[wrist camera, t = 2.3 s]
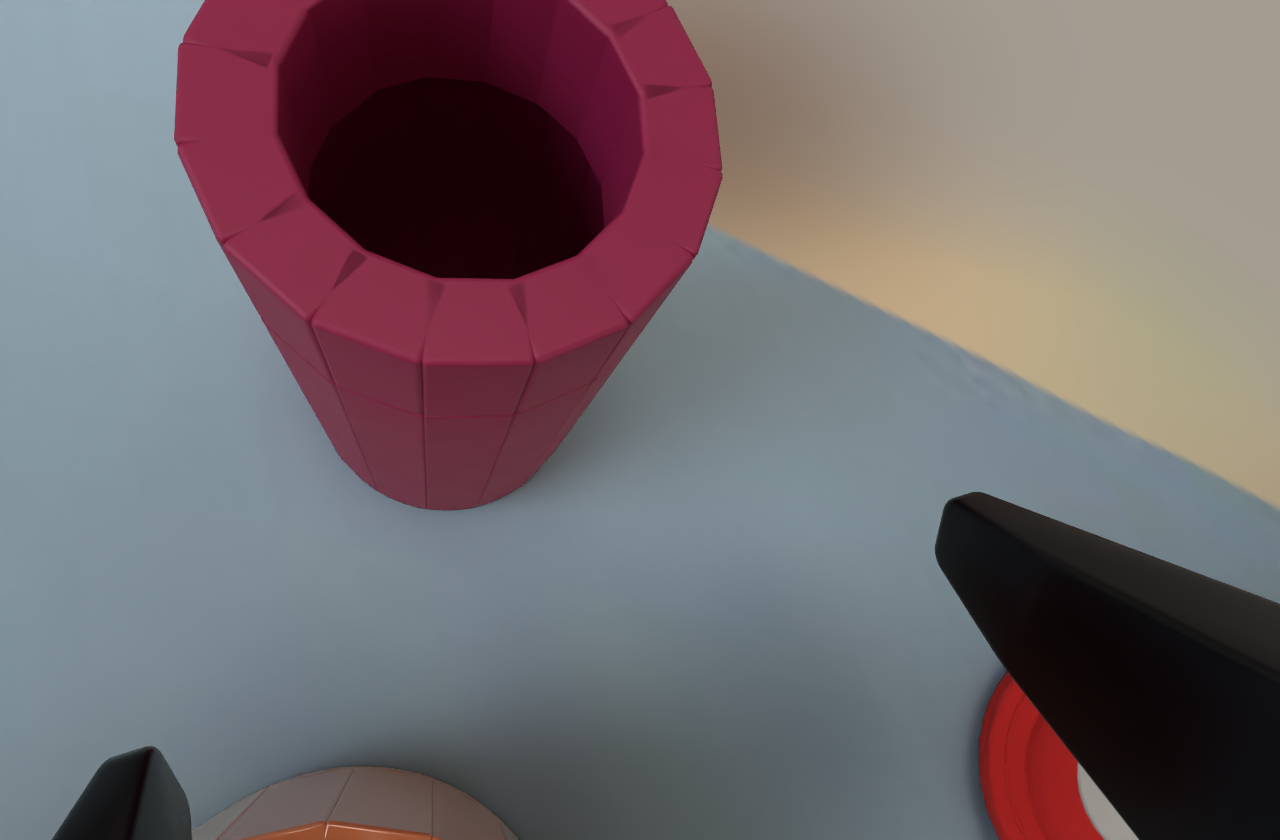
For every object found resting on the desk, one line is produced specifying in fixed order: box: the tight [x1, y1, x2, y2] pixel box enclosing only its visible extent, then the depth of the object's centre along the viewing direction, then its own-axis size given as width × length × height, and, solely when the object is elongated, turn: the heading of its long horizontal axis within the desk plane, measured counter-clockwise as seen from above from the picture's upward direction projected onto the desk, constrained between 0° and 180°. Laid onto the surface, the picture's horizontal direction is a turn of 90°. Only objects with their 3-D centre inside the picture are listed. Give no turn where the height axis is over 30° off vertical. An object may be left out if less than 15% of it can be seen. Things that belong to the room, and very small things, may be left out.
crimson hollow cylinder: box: [174, 0, 722, 510], centre depth 16 cm, size 6×6×13 cm
